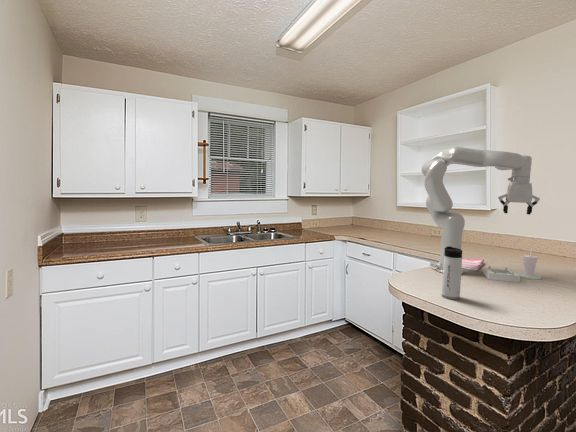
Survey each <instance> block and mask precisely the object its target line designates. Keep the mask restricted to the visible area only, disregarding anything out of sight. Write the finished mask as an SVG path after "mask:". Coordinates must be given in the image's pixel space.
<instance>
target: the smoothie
mask: <svg viewBox="0 0 576 432" xmlns="http://www.w3.org/2000/svg"><path fill="white" fill-rule="evenodd" d="M521 258H522V266H523V273H524V275H526V276H533V275H534V274H535V270H536V267H537V266H536V265H537V263H538V260H539V257H538V256H536V255H533V247H531V248H530V254H522V255H521Z"/></svg>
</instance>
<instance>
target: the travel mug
mask: <svg viewBox="0 0 576 432" xmlns="http://www.w3.org/2000/svg"><path fill="white" fill-rule="evenodd" d="M444 253H445V254H444V267H443V273H442V288H441V289H442V291H441V292H442V293H441V295H442V298H444V299H447V300H451V299H452V301H457V300H460V298H461V282H462V274H461V270H463V269H462V258H463V250H462V248H461V249H458V248H454V247H451V246H447V247H446V248H445V252H444Z"/></svg>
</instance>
